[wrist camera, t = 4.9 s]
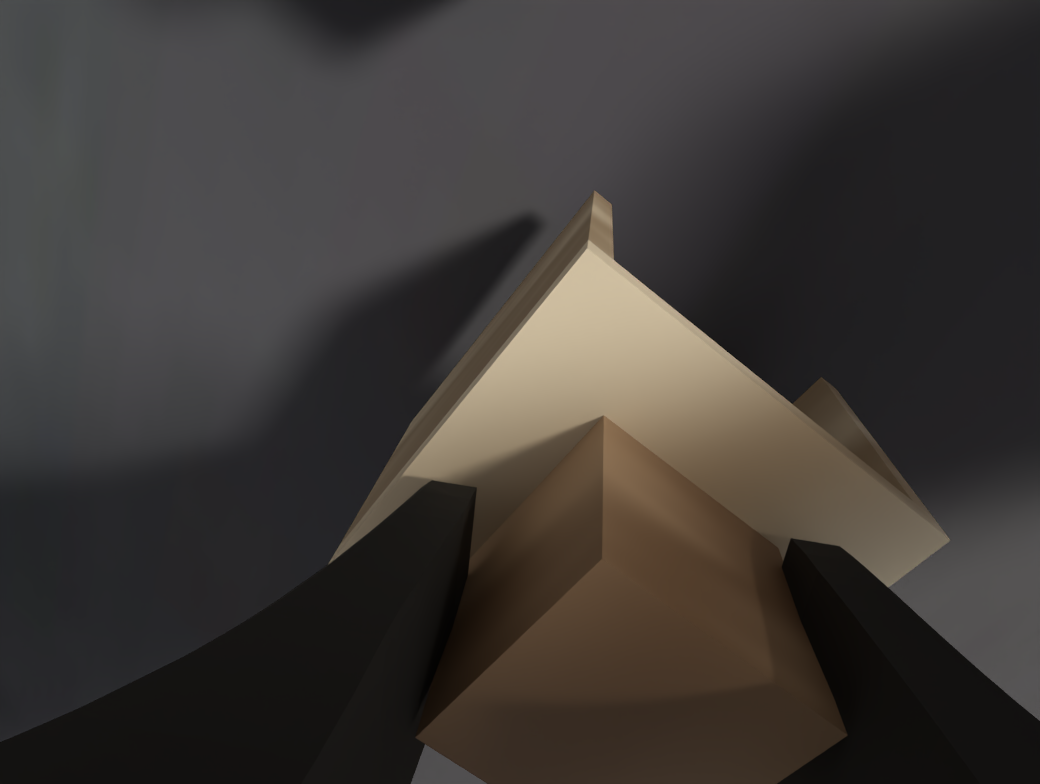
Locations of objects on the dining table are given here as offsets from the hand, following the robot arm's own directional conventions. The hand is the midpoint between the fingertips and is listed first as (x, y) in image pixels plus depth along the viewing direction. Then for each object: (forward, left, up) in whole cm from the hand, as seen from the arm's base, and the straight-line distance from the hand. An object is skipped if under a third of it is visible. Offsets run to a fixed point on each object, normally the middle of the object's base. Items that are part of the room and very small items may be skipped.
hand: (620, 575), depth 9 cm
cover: (0, 0, -6) cm, 6 cm away
